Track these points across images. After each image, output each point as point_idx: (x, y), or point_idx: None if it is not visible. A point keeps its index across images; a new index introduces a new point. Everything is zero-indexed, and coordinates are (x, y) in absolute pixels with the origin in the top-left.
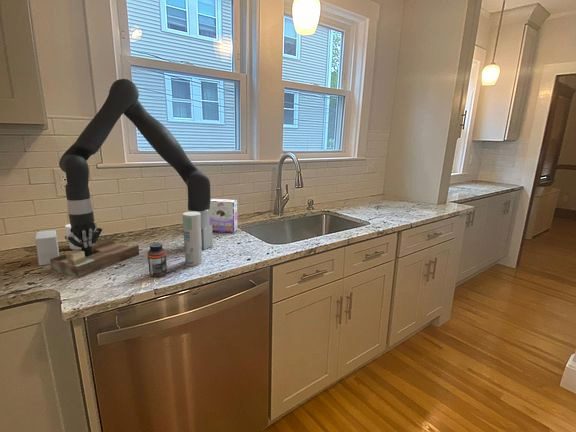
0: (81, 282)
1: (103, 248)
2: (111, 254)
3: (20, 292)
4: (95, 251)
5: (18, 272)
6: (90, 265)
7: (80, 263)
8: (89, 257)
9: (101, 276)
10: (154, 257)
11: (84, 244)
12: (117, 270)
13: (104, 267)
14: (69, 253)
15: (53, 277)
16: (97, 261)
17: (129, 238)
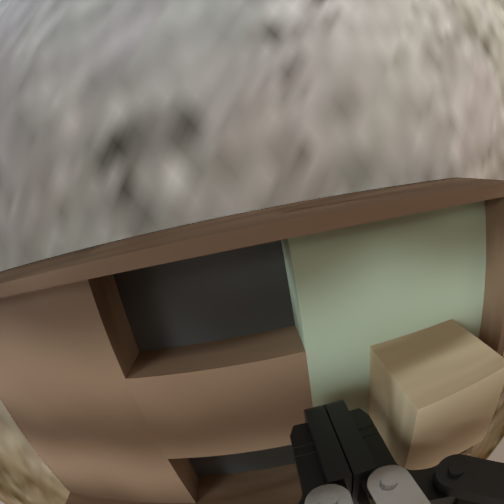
0: (462, 99)
1: (141, 484)
2: (142, 267)
3: None
4: (193, 488)
5: (486, 438)
6: (411, 193)
7: (411, 334)
8: (295, 417)
9: (351, 67)
10: None
11: (413, 494)
12: (209, 74)
13: (260, 209)
14: (488, 418)
15: None
16: (345, 206)
17: (21, 488)
